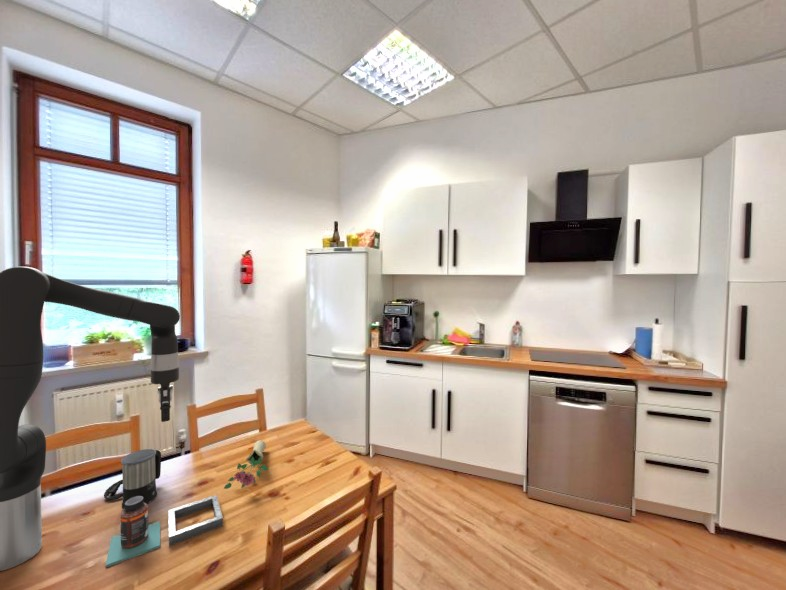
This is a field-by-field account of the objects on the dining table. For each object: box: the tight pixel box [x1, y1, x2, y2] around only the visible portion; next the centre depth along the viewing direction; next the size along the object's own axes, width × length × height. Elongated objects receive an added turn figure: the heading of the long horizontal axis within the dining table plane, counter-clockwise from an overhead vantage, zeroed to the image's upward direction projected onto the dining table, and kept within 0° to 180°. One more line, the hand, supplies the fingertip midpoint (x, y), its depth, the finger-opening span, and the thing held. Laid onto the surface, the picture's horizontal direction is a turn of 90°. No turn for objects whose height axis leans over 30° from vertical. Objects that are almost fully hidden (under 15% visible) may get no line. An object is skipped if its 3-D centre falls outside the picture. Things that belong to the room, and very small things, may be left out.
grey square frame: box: [167, 494, 224, 547], centre depth 96 cm, size 13×13×2 cm
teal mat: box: [105, 520, 161, 568], centre depth 88 cm, size 11×11×1 cm
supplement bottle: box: [119, 496, 149, 548], centre depth 88 cm, size 6×6×11 cm
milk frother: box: [103, 448, 162, 509], centre depth 107 cm, size 14×16×15 cm
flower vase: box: [223, 439, 269, 490], centre depth 121 cm, size 12×12×35 cm
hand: (165, 416), depth 105 cm, fingers open, 8 cm apart
